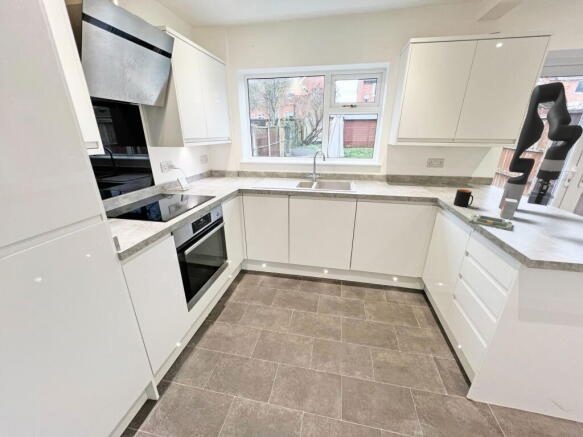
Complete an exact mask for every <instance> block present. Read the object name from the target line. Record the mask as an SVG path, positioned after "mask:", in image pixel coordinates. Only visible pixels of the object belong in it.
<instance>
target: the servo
mask: <svg viewBox="0 0 583 437" xmlns="http://www.w3.org/2000/svg"><path fill="white" fill-rule="evenodd" d="M543 193H544V192H540V194H543ZM537 194H538V191H537V190H530V192H526V196H529V197H528V198H527V201H526V202H527V204H530V205H538V206H545V207H548V204H549V201H550V199H552V200H553V199H554V198H555V197H554V195H552V192H550V191H549V190H548V191H547V192H546V194H545V196H544V197H543V199H542V201H541V204H535V200H536V197H537Z"/></svg>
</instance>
